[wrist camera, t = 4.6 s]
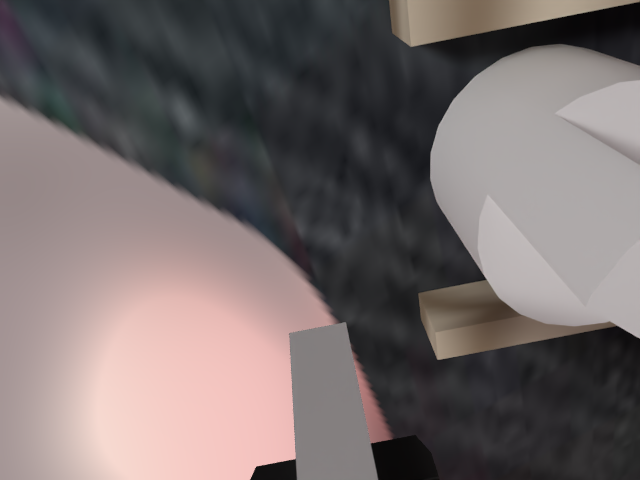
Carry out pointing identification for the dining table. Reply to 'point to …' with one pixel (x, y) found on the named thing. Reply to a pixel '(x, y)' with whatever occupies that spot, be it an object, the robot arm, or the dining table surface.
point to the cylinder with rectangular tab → (548, 183)
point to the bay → (479, 297)
